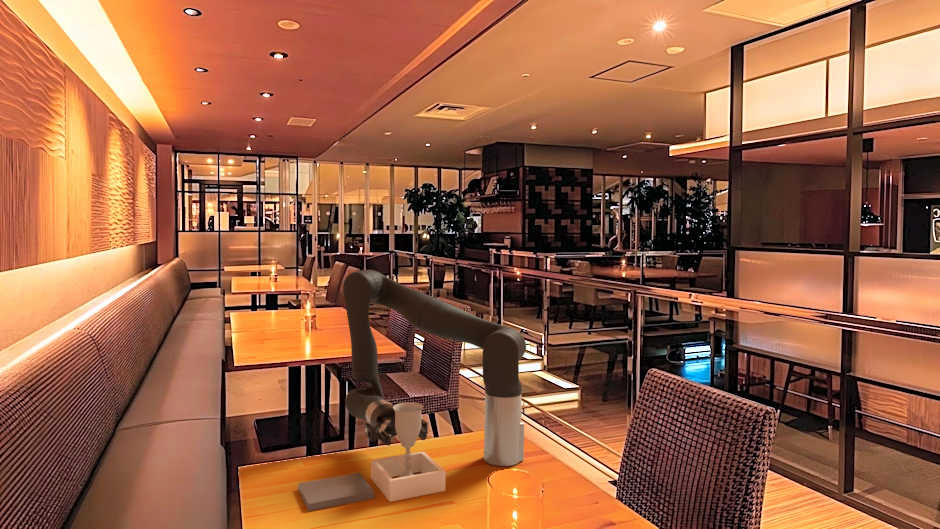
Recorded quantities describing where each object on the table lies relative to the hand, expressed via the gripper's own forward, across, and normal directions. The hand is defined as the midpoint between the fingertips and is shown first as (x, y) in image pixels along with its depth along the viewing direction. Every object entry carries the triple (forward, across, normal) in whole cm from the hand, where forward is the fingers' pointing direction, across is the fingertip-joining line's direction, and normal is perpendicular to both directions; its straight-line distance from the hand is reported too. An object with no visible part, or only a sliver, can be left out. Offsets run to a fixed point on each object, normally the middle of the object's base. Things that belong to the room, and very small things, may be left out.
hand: (407, 438), depth 138 cm
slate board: (-1, -16, +10) cm, 19 cm away
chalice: (+1, 0, +11) cm, 11 cm away
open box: (+1, 0, +10) cm, 11 cm away
